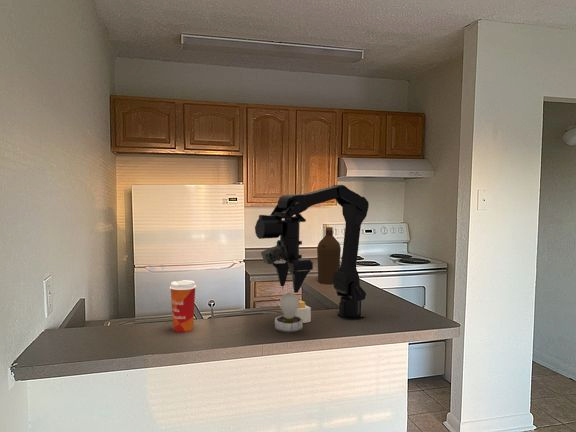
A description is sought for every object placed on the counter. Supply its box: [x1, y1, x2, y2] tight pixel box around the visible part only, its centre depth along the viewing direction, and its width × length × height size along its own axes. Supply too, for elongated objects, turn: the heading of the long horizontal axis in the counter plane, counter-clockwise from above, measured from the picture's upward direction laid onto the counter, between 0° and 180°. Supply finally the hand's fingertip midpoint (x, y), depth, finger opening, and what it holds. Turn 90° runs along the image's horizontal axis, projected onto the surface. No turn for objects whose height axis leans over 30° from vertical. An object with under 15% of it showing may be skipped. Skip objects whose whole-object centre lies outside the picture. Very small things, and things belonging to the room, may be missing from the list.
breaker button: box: [298, 300, 306, 308], centre depth 135 cm, size 2×2×3 cm
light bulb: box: [279, 292, 300, 323], centre depth 127 cm, size 6×6×10 cm
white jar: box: [295, 304, 312, 324], centre depth 135 cm, size 5×5×5 cm
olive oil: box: [316, 226, 342, 285], centre depth 192 cm, size 11×11×25 cm
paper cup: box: [168, 279, 197, 333], centre depth 125 cm, size 8×8×14 cm
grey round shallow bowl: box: [274, 315, 304, 334], centre depth 128 cm, size 8×8×3 cm
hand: (288, 289), depth 127 cm, fingers open, 9 cm apart
